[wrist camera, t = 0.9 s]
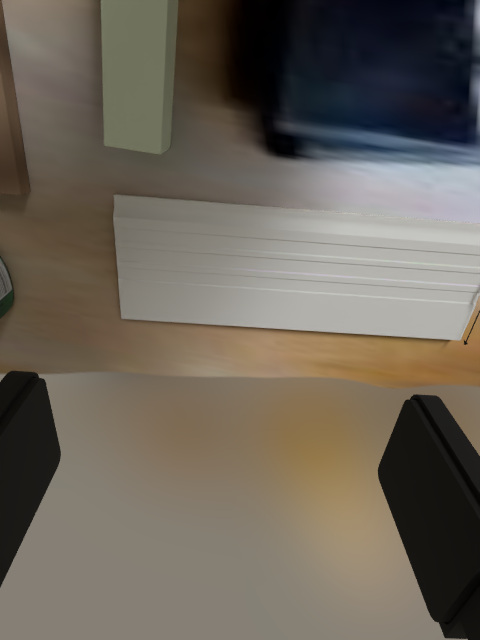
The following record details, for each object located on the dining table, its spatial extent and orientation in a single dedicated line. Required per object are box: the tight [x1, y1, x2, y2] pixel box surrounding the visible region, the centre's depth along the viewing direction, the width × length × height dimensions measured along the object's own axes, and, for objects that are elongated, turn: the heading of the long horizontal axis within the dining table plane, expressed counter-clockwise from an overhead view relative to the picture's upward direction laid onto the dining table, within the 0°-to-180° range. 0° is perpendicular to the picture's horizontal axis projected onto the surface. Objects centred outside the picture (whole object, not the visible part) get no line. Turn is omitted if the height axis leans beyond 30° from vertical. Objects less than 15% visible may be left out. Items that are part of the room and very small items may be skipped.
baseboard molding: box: [113, 194, 480, 345], centre depth 32 cm, size 31×3×12 cm
